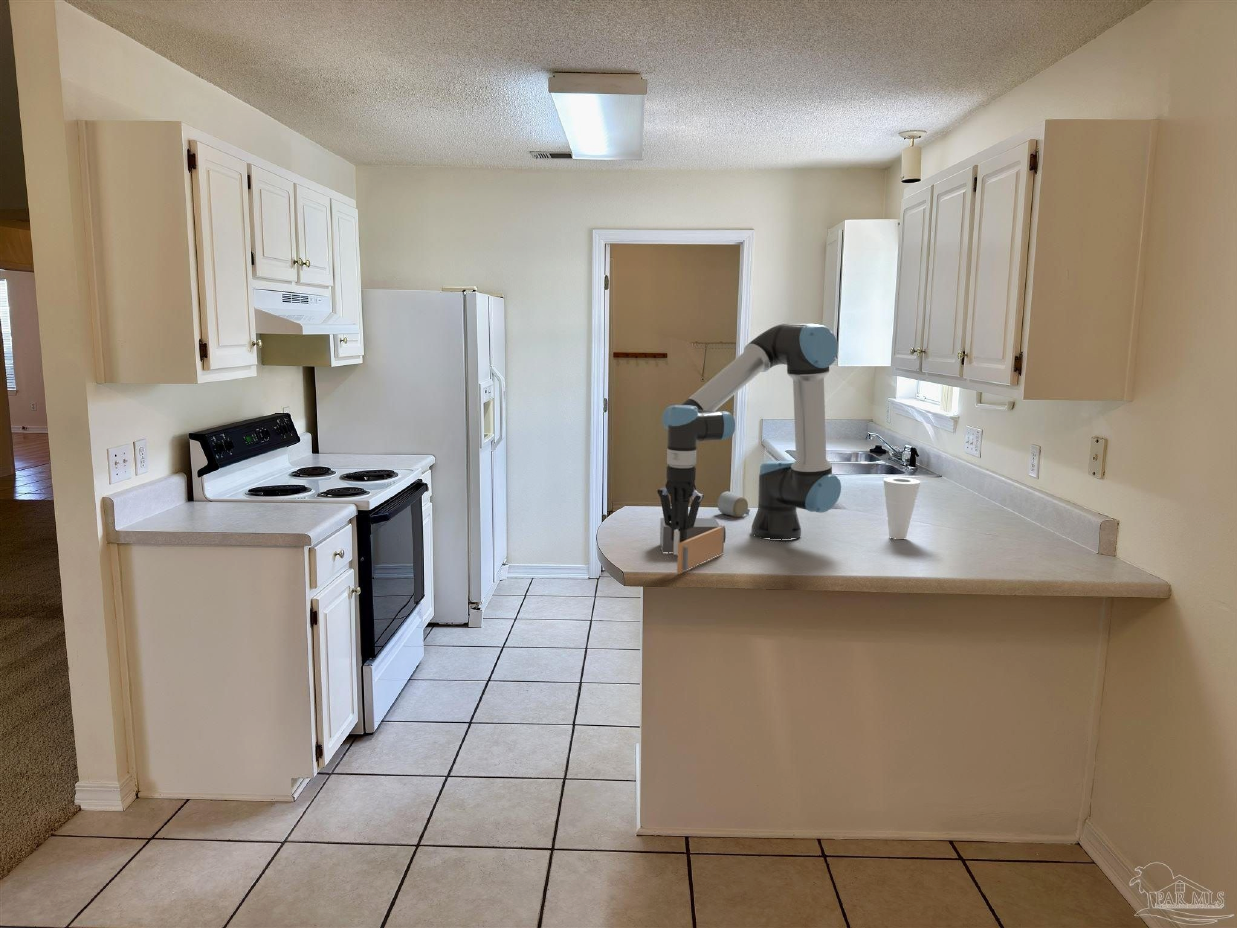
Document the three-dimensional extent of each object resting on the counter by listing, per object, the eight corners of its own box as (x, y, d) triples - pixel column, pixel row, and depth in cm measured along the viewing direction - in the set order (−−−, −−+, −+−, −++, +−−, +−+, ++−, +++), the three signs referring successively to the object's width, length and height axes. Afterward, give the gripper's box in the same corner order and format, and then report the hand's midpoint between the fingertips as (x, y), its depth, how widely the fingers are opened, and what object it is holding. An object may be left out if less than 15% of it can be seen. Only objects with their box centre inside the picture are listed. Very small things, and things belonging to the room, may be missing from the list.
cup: (901, 532, 263) (905, 476, 260) (923, 541, 253) (928, 483, 250) (872, 534, 260) (876, 477, 257) (893, 543, 250) (897, 484, 247)
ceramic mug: (734, 519, 277) (735, 496, 276) (716, 514, 283) (717, 492, 282) (755, 515, 284) (756, 493, 283) (737, 510, 290) (738, 489, 289)
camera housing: (720, 544, 246) (721, 515, 244) (726, 554, 236) (727, 524, 234) (659, 544, 245) (660, 515, 243) (662, 554, 235) (663, 523, 234)
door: (720, 553, 236) (721, 525, 234) (726, 554, 235) (728, 526, 233) (676, 573, 217) (677, 543, 215) (683, 574, 216) (684, 544, 214)
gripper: (652, 464, 216) (649, 552, 220) (696, 470, 209) (692, 561, 213) (667, 460, 222) (664, 546, 227) (710, 466, 215) (706, 554, 219)
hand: (678, 553), depth 220 cm, fingers closed
